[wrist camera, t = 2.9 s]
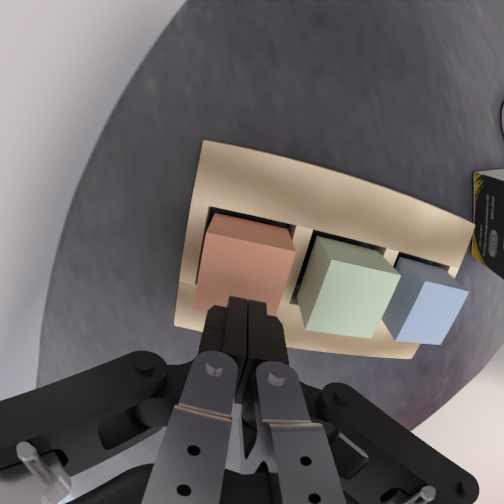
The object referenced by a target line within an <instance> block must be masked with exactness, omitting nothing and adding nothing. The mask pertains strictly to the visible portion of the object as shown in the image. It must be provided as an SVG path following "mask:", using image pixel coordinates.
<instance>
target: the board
mask: <svg viewBox="0 0 504 504" xmlns="http://www.w3.org/2000/svg"><path fill="white" fill-rule="evenodd" d="M211 207H216V208H221V209H226V210H230V211H235V212H240V213H244V214H249V215H253V216H258V217H262V218H267V219H271V220H275V221H280V222H284V223H288V224H290V225H289V229H288V232H289V234H290V237H291V240H292V242H293V245H294V248H295V250H296V253H295V257H294V260H293V263H292V266H291V270H290V273H289V276H288V279H287V282H286V285H285V289H284V292H283V295H282V298H281V301H280V304H279V307H278V310H277V313H276V316H277V318H278V319H279V320H280V322H281V323H282V324H283V329H284V335H285V342H286V347H291V348H298V349H305V350H313V351H321V352H329V353H339V354H348V355H359V356H371V357H384V358H401V359H412V357H413V355H414V354H415V352H416V351H417V349H418V347H419V346H420V344H421V343H411V342H400V341H395V340H394V339H393V337H392V335H391V334H390V332H389V331H388V329H387V327H386V326H385V324H384V322H383V321H382V319H381V320H380V322H379V324H378V326H377V328H376V330H375V332H374V334H373V336H372V338H371V339H370V338H362V337H353V336H346V335H338V334H330V333H323V332H316V331H310V330H305V328H304V324H303V320H302V316H301V312H300V308H299V304H298V301H297V294H298V290H294V288H295V285H296V282H297V279H298V276H299V273H300V270H301V267H302V264H303V261H304V258H305V255H306V251H307V248H308V245H309V242H310V239H311V235H312V232H313V230H318V231H322V232H326V233H330V234H334V235H338V236H342V237H346V238H350V239H353V240H357V241H361V242H365V243H369V244H372V247H371V249H372V250H376V251H378V252H379V253H380V254H381V255H382V256H383V257H384V258H385V259H386V260H387V261H388V262H389V263H390V264H391V265H392V266H394V263H395V261H396V258H397V255H398V253H399V252H402V253H406V254H410V255H413V256H417V257H420V258H424V259H427V260H431V261H434V264H433V266H436V267H439V268H443V269H444V270H445V271H446V272H448V273H449V274H450V275H451V276H452V277H453V278H455V276H456V274H457V272H458V269H459V267H460V265H461V262H462V260H463V258H464V255H465V253H466V250H467V247H468V245H469V242H470V240H471V237H472V234H473V231H474V228H475V226H476V225H475V224H473V223H471V222H470V221H468V220H466V219H464V218H462V217H460V216H457V215H455V214H453V213H451V212H448V211H446V210H444V209H441V208H439V207H436V206H434V205H431V204H429V203H427V202H424V201H421V200H419V199H416V198H414V197H411V196H409V195H406V194H403V193H401V192H398V191H395V190H392V189H390V188H387V187H384V186H381V185H378V184H375V183H372V182H369V181H366V180H363V179H360V178H357V177H354V176H351V175H348V174H345V173H341V172H338V171H335V170H332V169H328V168H325V167H321V166H318V165H314V164H311V163H307V162H304V161H300V160H296V159H292V158H288V157H285V156H281V155H277V154H272V153H268V152H264V151H260V150H255V149H251V148H246V147H242V146H237V145H232V144H228V143H223V142H217V141H212V140H203V145H202V150H201V155H200V159H199V164H198V169H197V174H196V180H195V185H194V190H193V196H192V201H191V207H190V213H189V218H188V224H187V231H186V237H185V243H184V250H183V257H182V264H181V271H180V278H179V286H178V294H177V302H176V311H175V320H174V326H179V327H183V328H187V329H192V330H196V331H201V332H203V329H204V324H205V320H206V315H207V312H205V311H201V310H196V309H193V307H194V300H195V294H196V288H197V282H198V276H199V270H200V264H201V258H202V253H203V247H204V242H205V236H206V232H207V228H208V223H209V218H210V212H211Z"/></svg>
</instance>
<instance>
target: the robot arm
mask: <svg viewBox="0 0 504 504" xmlns="http://www.w3.org/2000/svg"><path fill="white" fill-rule="evenodd" d="M234 396H235V398H234ZM233 399H234V403H237V404H242V412H241V414H240V417H239V422H238V423H239V438H240V453H241V470H240V473H237V472H234V471H231V470H228V469H225V463H226V457H227V450H228V444H229V438H230V431H231V425H232V418H231V411H232V405H233ZM163 426H167V428H166V431H165V434H164V437H163V440H162V443H161V446H160V449H159V452H158V455H157V457H156V460H155V463H151V464H145V465H141V466H137V467H134V468H132V469H129V470H127V471H125V472H123V473H121V474H120V475H118V476H116V477H115V478H113V479H111V480H109V481H108V482H106V483H104V484H102V485H100V486H99V487H97V488H95V489H93V490H91V491H89V492H88V493H86V494H84V495H82V496H80V497H78V498H76V499H74V500H72V501H70V502H68V503H66V504H473V503H474V502H475V501H476V500H477V498H478V495H479V485H478V482H477V480H476V479H475V477H474V476H473V475H471V474H469V473H468V472H467V471H465V470H464V469H462V468H461V467H459V466H458V465H457V464H455V463H454V462H452V461H451V460H449V459H448V458H446V457H445V456H443V455H442V454H441V453H439V452H438V451H436V450H435V449H433V448H432V447H431V446H429V445H428V444H426V443H425V442H424V441H422V440H421V439H419V438H418V437H417V436H415V435H414V434H413V433H411V432H410V431H409V430H407V429H406V428H405V427H403V426H402V425H400V424H399V423H398V422H396V421H395V420H394V419H392V418H391V417H390V416H388V415H387V414H386V413H384V412H383V411H382V410H381V409H379V408H378V407H377V406H375V405H374V404H373V403H371V402H370V401H369V400H367V399H366V398H365V397H364V396H362V395H361V394H360V393H358V392H357V391H356V390H355V389H353V388H352V387H350V386H348V385H346V384H343V383H330V384H328V385H326V386H325V387H324V388H323V390H320V389H317V388H314V387H311V386H308V385H306V384H304V383H302V382H300V381H299V378H298V375H297V373H296V372H295V370H294V369H292V368H291V367H290V366H289V360H288V354H287V348H286V342H285V335H284V329H283V324H282V323H281V322H280V320H279V319H278V318H277V316H271V315H267V304H266V302H261V301H256V300H251V299H248V301H247V299H245V298H240V297H235V296H229V299H228V304H227V307H223V306H218V305H214V306H212V307H211V308H210V309H209V310H208V311H207V315H206V320H205V324H204V329H203V333H202V337H201V342H200V346H199V351H198V354H197V356H196V357H195V358H194V359H193V360H192V361H190V362H188V363H185V364H180V365H167V364H166V362H165V361H164V360H163V358H161V357H160V356H159V355H157V354H155V353H152V352H149V351H135V352H132V353H129V354H127V355H124V356H122V357H119V358H117V359H114V360H112V361H109V362H107V363H104V364H102V365H99V366H97V367H94V368H91V369H89V370H86V371H84V372H81V373H78V374H76V375H73V376H70V377H68V378H65V379H62V380H60V381H57V382H54V383H51V384H49V385H46V386H43V387H40V388H37V389H35V390H32V391H29V392H26V393H23V394H20V395H17V396H14V397H11V398H8V399H5V400H2V401H0V504H57V503H58V502H59V501H60V500H62V499H64V498H65V497H66V496H67V495H68V494H69V492H70V490H71V479H70V477H71V476H74V475H76V474H78V473H80V472H82V471H84V470H87V469H89V468H91V467H93V466H95V465H97V464H99V463H101V462H103V461H105V460H107V459H109V458H111V457H113V456H115V455H117V454H119V453H120V452H122V451H124V450H126V449H128V448H130V447H132V446H133V445H135V444H137V443H139V442H141V441H142V440H144V439H146V438H148V437H150V436H151V435H153V434H155V433H156V432H158V431H160V430H161V429H162V428H163ZM341 433H342V434H343V435H345V436H346V437H347V438H348V439H349V440H351V441H352V442H353V443H354V444H355V445H357V446H358V447H359V448H360V449H362V450H363V451H364V452H365V453H366V454H367V455H368V457H369V458H366V457H364V456H362V455H361V454H360V453H358V452H357V451H356V450H355V449H354V448H352V447H351V446H350V445H349V444H347V443H346V442H345V441H344V440H343V439H342V438H340V437H339V435H340V434H341Z"/></svg>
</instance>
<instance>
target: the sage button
mask: <svg viewBox="0 0 504 504" xmlns="http://www.w3.org/2000/svg"><path fill="white" fill-rule="evenodd" d="M400 277H401V275H400V274H399V273H398V272H397V270H396V269H395V268H394V267H393V266H392V265H391V264H390V263H389V262H388V261H387V260H386V259H385V258H384V257H383V256H382V255H381V254H380V253H379V252H378V251H376V250H372V249H368V248H364V247H360V246H356V245H352V244H348V243H344V242H340V241H336V240H332V239H328V238H324V237H320V236H316V240H315V243H314V246H313V249H312V252H311V255H310V258H309V261H308V265H307V268H306V271H305V274H304V277H303V280H302V283H301V285H300V288H299V291H298V294H297V301H298V304H299V308H300V312H301V316H302V320H303V324H304V328H305V330H310V331H316V332H323V333H330V334H338V335H346V336H353V337H362V338H370V339H371V338H372V336H373V334H374V332H375V330H376V328H377V326H378V324H379V322H380V320H381V318H382V316H383V314H384V312H385V310H386V308H387V306H388V304H389V302H390V300H391V297H392V295H393V293H394V291H395V289H396V286H397V284H398V282H399V279H400Z"/></svg>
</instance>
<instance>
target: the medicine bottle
mask: <svg viewBox="0 0 504 504" xmlns="http://www.w3.org/2000/svg"><path fill="white" fill-rule="evenodd" d="M473 178H474V218H473V224H475V225H476V226H475V228H474V231H473V238H472V250H471V255H472V256H473V257H474V258H475V259H477V260H478V261H479V262H481V263H482V264H484V265H485V266H486V267H488V268H489V269H490V270H492V271H493V272H494V273H496V274H497V275H498V276H500V277H501V278H502V279H504V169H497V170H487V171H478V172H475V173H474V176H473Z"/></svg>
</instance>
